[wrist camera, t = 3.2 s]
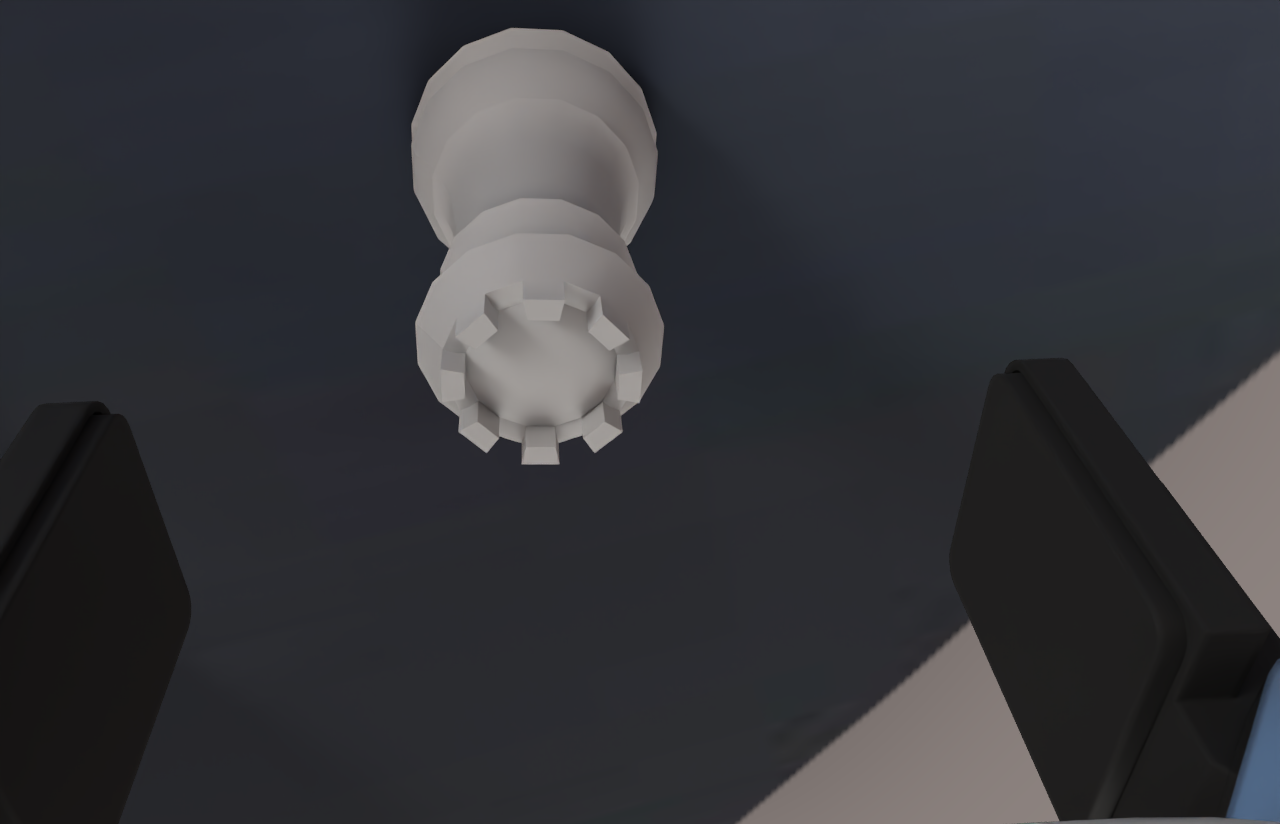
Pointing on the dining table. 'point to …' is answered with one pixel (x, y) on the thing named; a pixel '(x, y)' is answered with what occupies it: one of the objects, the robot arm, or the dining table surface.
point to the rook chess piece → (536, 240)
